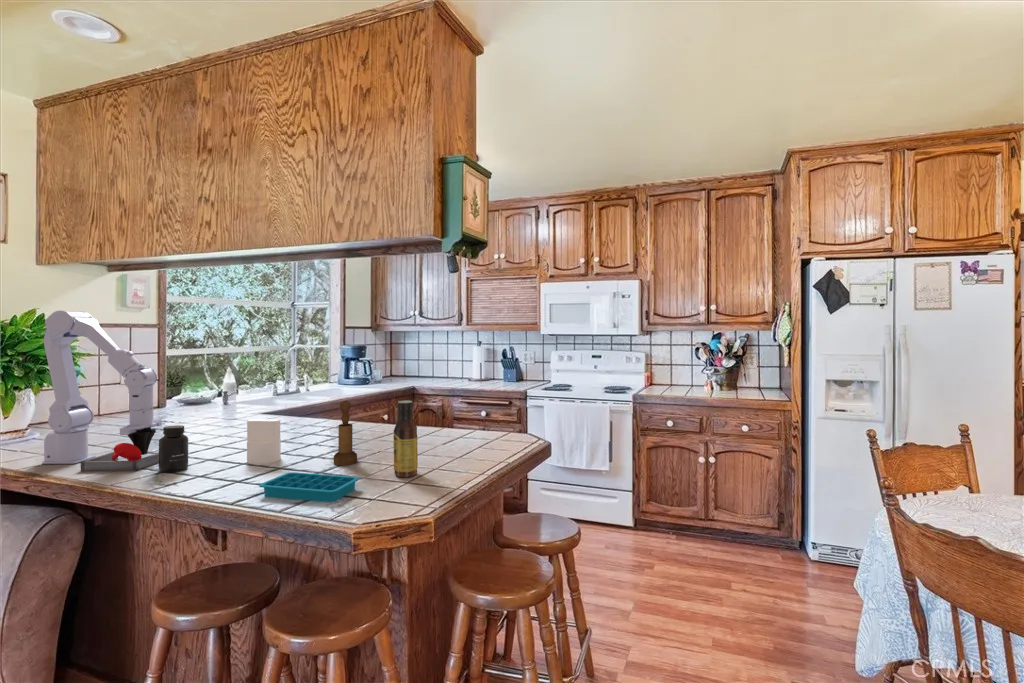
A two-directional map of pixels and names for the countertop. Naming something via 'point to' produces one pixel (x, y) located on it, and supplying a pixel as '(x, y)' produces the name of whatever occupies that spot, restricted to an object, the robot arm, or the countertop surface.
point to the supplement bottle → (173, 449)
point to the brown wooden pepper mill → (345, 439)
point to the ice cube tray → (309, 486)
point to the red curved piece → (127, 452)
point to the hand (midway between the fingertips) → (142, 454)
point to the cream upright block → (263, 441)
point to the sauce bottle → (405, 441)
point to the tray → (117, 463)
